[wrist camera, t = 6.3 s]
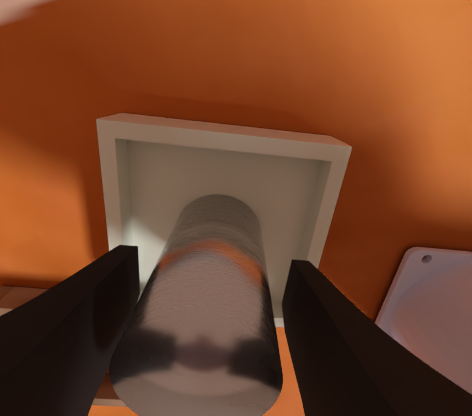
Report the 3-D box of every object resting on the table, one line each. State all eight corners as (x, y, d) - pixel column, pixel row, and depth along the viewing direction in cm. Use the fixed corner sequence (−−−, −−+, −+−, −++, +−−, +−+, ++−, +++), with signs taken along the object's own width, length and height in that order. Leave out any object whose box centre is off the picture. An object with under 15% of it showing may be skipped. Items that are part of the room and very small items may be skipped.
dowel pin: (271, 206, 12) (308, 338, 6) (247, 276, 14) (255, 442, 7) (183, 184, 12) (116, 299, 5) (169, 259, 13) (103, 417, 7)
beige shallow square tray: (330, 135, 12) (352, 146, 10) (291, 295, 16) (300, 328, 14) (121, 112, 12) (95, 119, 9) (132, 282, 15) (115, 315, 13)
